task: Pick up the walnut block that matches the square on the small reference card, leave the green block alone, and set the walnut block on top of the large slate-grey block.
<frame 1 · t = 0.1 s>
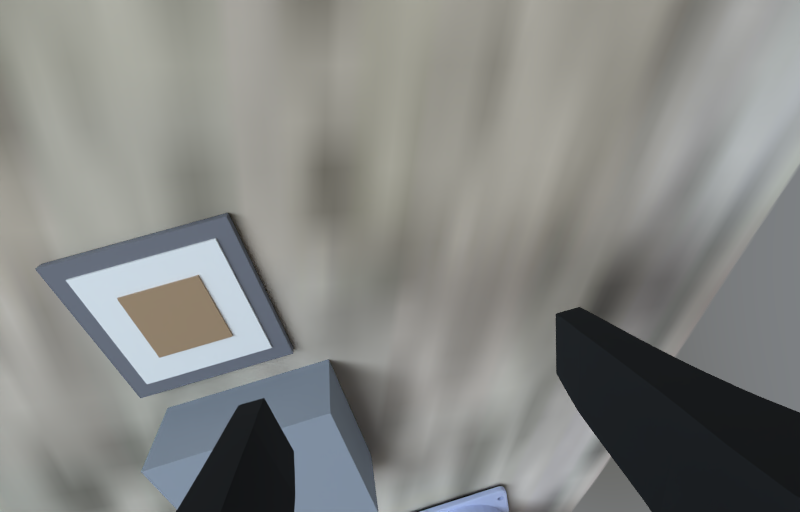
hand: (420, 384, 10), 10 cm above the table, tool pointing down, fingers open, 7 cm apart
slate base block: (280, 430, 24), on the table
reference card: (181, 311, 19), on the table
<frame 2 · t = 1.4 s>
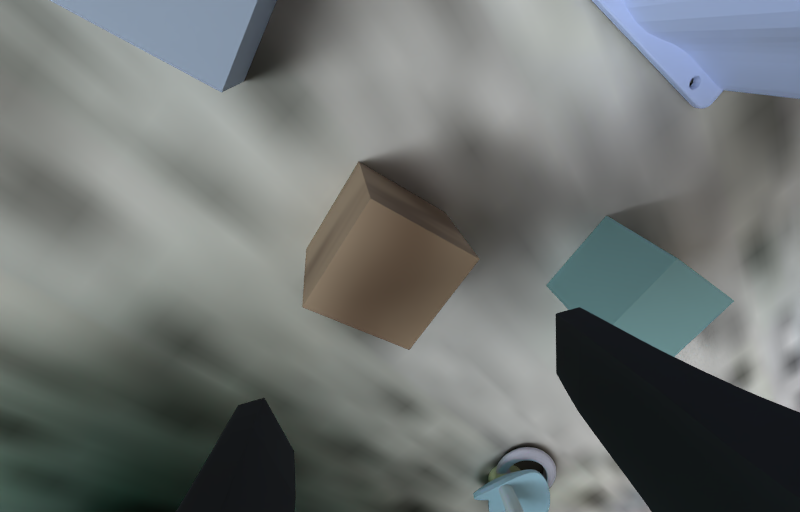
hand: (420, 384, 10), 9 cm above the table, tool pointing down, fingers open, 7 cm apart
green block: (602, 268, 21), on the table
walnut block: (376, 229, 18), on the table
pacifier: (512, 470, 29), on the table
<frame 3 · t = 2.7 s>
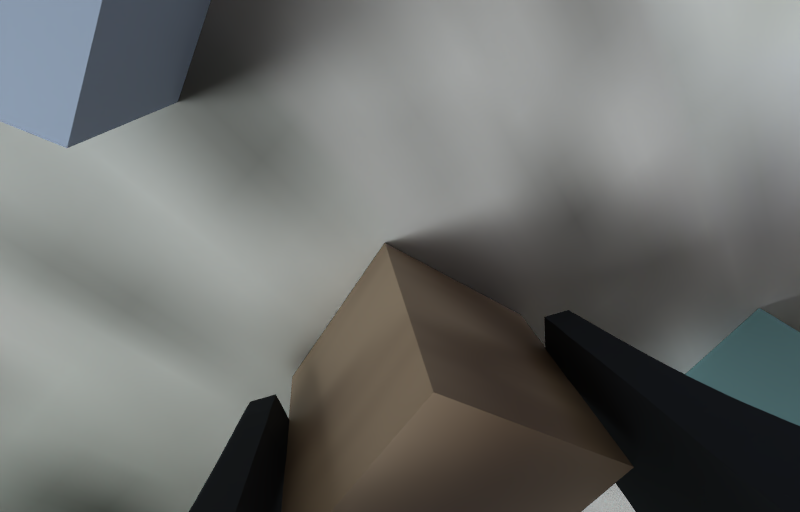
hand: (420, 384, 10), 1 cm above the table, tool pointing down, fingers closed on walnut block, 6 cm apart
green block: (734, 376, 14), on the table
walnut block: (408, 345, 11), on the table, touching gripper
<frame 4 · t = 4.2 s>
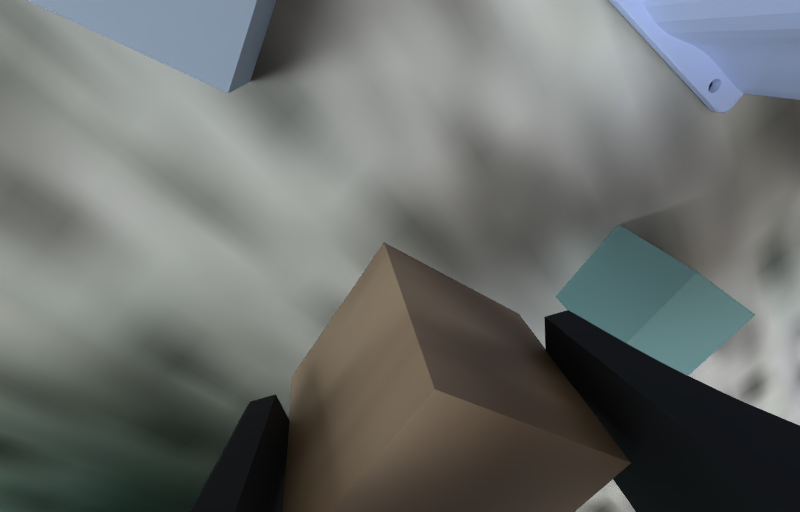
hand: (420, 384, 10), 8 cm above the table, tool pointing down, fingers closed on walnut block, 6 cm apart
green block: (613, 279, 21), on the table
walnut block: (407, 344, 11), point 7 cm above the table, touching gripper
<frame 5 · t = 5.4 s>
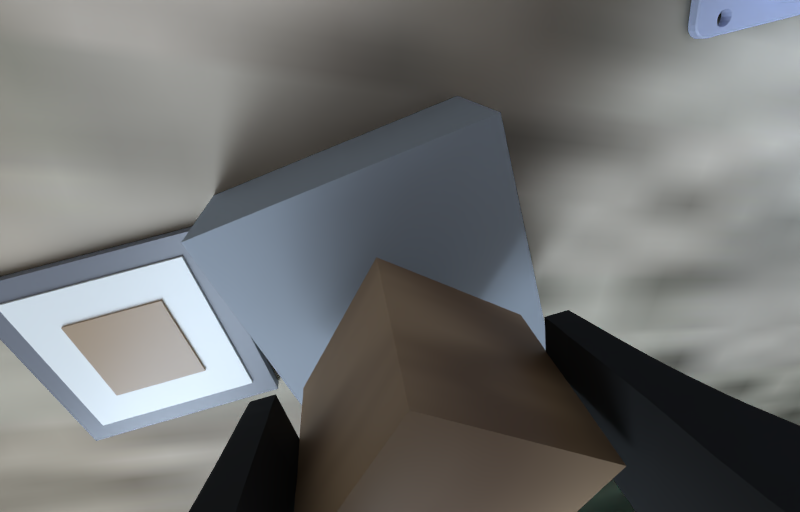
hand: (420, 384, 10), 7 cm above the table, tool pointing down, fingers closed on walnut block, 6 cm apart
slate base block: (380, 248, 16), on the table
walnut block: (411, 351, 11), point 5 cm above the table, touching gripper
reference card: (143, 340, 16), on the table
when the fingers open (7 cm above the table, at t = 6.0 s): walnut block drops 2 cm, point 4 cm above the table.
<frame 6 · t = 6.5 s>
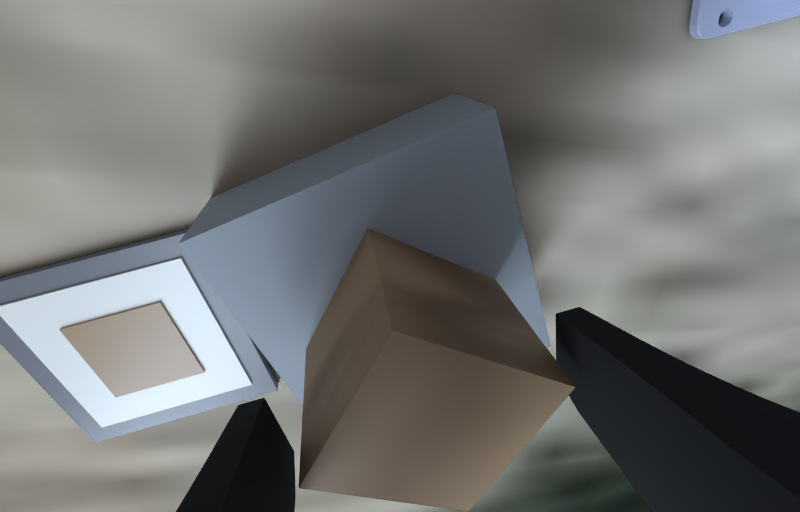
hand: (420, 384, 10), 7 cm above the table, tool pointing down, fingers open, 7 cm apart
slate base block: (379, 247, 16), on the table
walnut block: (401, 314, 13), point 4 cm above the table
reference card: (142, 342, 16), on the table
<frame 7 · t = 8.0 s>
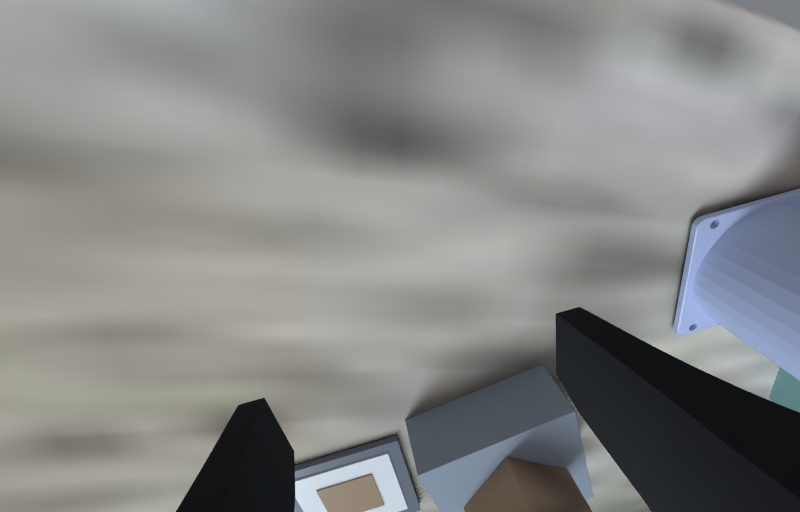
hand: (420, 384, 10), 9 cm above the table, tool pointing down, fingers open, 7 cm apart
slate base block: (488, 429, 27), on the table, touching walnut block
walnut block: (515, 488, 23), point 4 cm above the table, touching slate base block
reference card: (351, 489, 26), on the table
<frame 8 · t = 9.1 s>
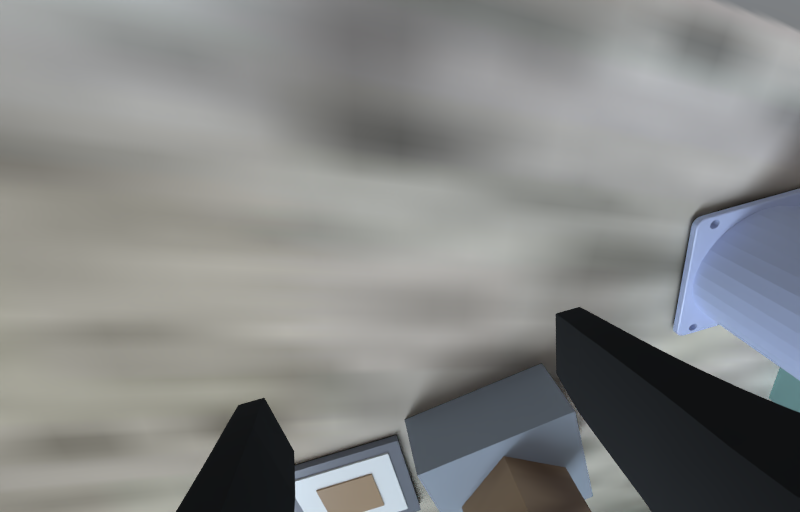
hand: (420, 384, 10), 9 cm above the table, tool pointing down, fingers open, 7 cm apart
slate base block: (488, 429, 27), on the table, touching walnut block
walnut block: (513, 487, 23), point 4 cm above the table, touching slate base block
reference card: (351, 489, 26), on the table
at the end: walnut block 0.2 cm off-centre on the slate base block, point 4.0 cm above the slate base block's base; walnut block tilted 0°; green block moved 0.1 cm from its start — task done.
